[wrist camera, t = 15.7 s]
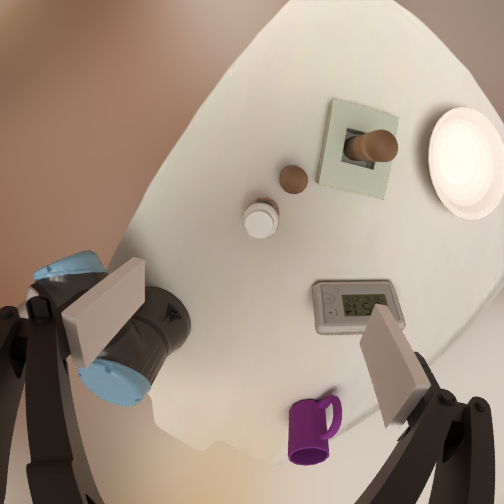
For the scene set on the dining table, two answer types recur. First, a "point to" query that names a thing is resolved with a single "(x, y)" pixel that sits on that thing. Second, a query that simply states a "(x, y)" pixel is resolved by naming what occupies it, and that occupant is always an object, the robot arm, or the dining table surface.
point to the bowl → (467, 163)
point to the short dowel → (293, 179)
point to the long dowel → (371, 147)
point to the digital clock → (352, 305)
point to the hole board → (330, 166)
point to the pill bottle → (261, 218)
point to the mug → (312, 430)
